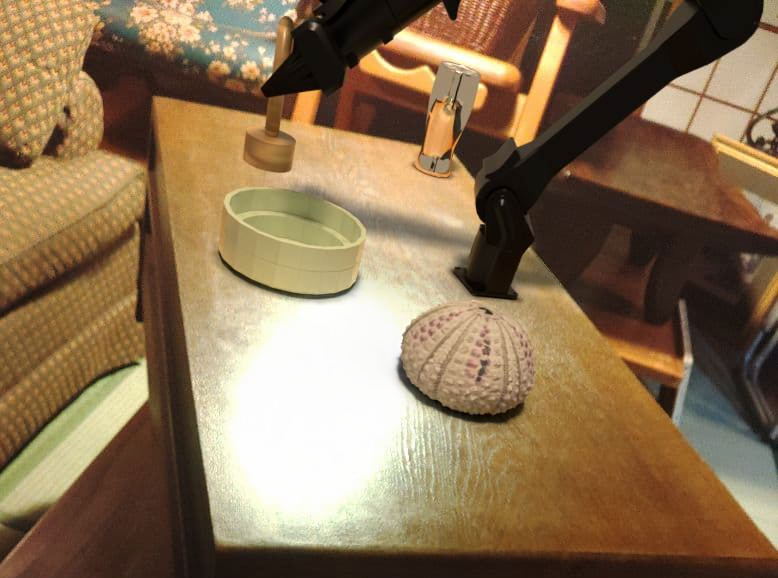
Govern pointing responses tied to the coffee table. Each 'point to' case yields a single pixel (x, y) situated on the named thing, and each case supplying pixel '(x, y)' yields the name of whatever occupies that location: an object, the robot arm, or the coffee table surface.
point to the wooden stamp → (273, 119)
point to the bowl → (291, 240)
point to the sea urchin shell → (469, 357)
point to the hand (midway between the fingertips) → (264, 91)
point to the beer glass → (447, 116)
